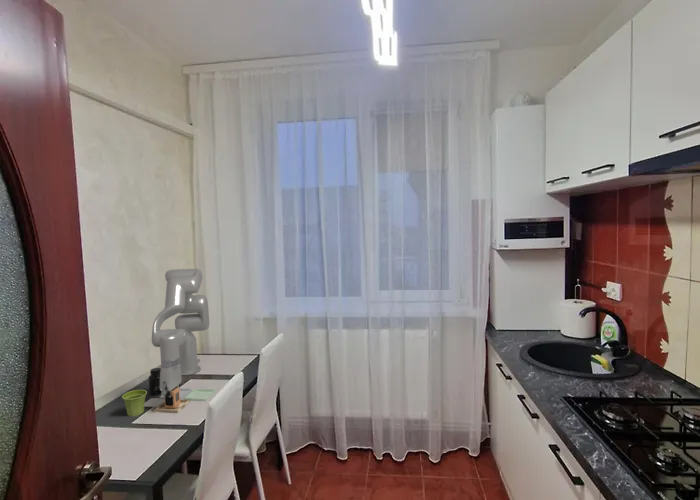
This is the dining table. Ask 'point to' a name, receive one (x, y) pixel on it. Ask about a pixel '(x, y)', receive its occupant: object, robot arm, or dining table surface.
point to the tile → (154, 402)
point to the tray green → (200, 394)
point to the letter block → (175, 398)
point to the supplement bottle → (154, 382)
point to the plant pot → (134, 402)
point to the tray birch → (172, 410)
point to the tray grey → (182, 393)
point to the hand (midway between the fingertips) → (172, 402)
